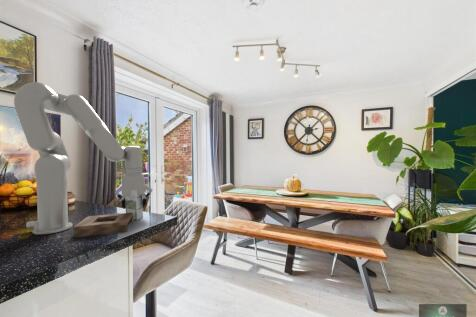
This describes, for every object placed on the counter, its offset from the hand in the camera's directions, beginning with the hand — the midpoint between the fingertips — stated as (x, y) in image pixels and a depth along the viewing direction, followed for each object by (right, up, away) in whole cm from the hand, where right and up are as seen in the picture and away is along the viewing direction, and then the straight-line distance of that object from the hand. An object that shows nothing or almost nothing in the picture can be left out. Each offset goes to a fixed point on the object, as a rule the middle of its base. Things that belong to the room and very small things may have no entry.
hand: (134, 207), depth 104 cm
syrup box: (0, -6, 0) cm, 6 cm away
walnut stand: (-5, -6, -14) cm, 16 cm away
